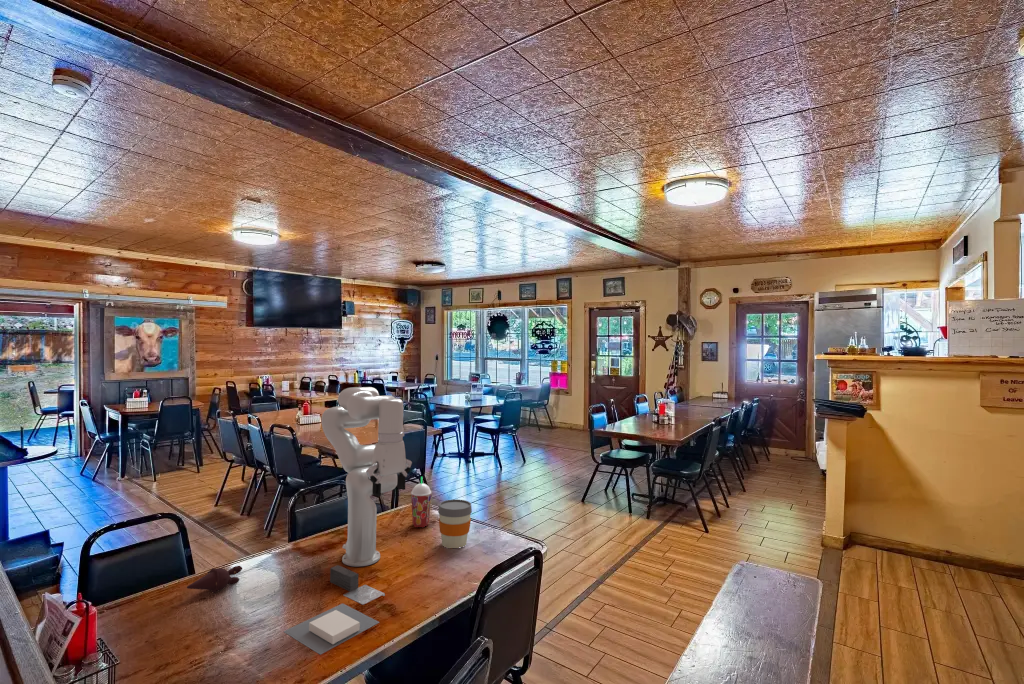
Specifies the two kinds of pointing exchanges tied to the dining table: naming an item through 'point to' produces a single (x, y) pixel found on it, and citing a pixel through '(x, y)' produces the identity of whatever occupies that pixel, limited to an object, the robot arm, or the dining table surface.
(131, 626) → the dining table surface
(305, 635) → the mat
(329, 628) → the tile
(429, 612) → the dining table surface
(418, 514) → the smoothie
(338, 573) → the trowel
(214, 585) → the icecream
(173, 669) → the dining table surface
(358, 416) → the robot arm
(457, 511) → the reusable coffee cup
